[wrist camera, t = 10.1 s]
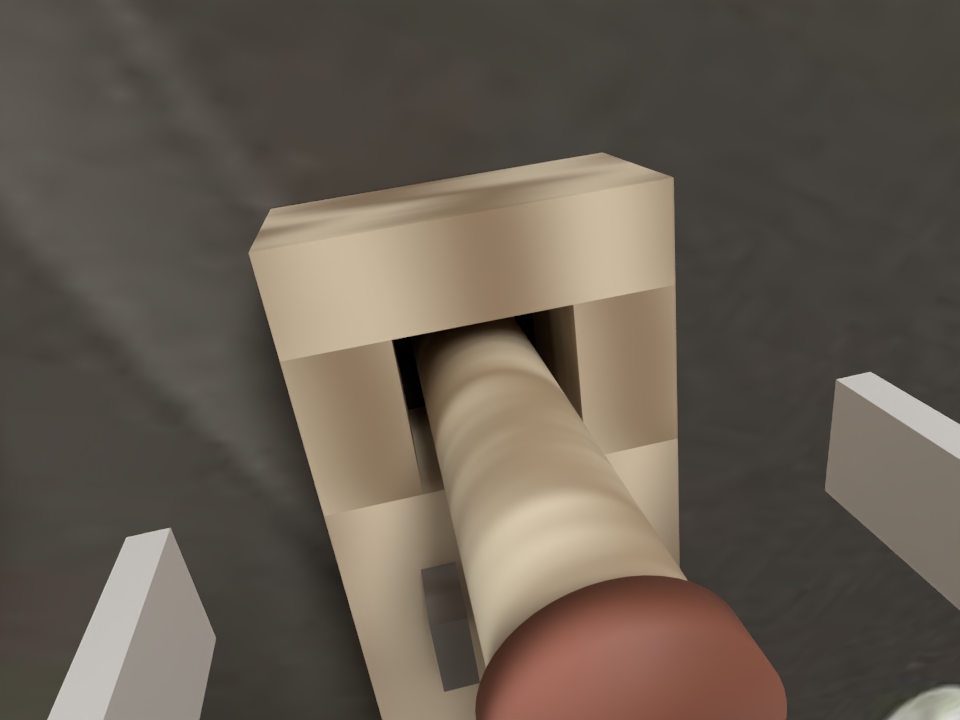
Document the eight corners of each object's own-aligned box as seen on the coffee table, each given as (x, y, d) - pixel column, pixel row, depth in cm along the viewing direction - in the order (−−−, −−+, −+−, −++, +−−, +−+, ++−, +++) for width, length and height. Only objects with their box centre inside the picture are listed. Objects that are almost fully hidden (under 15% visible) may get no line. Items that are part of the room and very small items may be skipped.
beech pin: (413, 400, 23) (509, 886, 9) (390, 287, 21) (467, 681, 8) (528, 376, 23) (779, 808, 10) (515, 264, 22) (795, 599, 8)
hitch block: (407, 724, 29) (425, 916, 22) (270, 209, 20) (233, 281, 13) (631, 666, 30) (711, 833, 23) (602, 152, 21) (719, 193, 14)
